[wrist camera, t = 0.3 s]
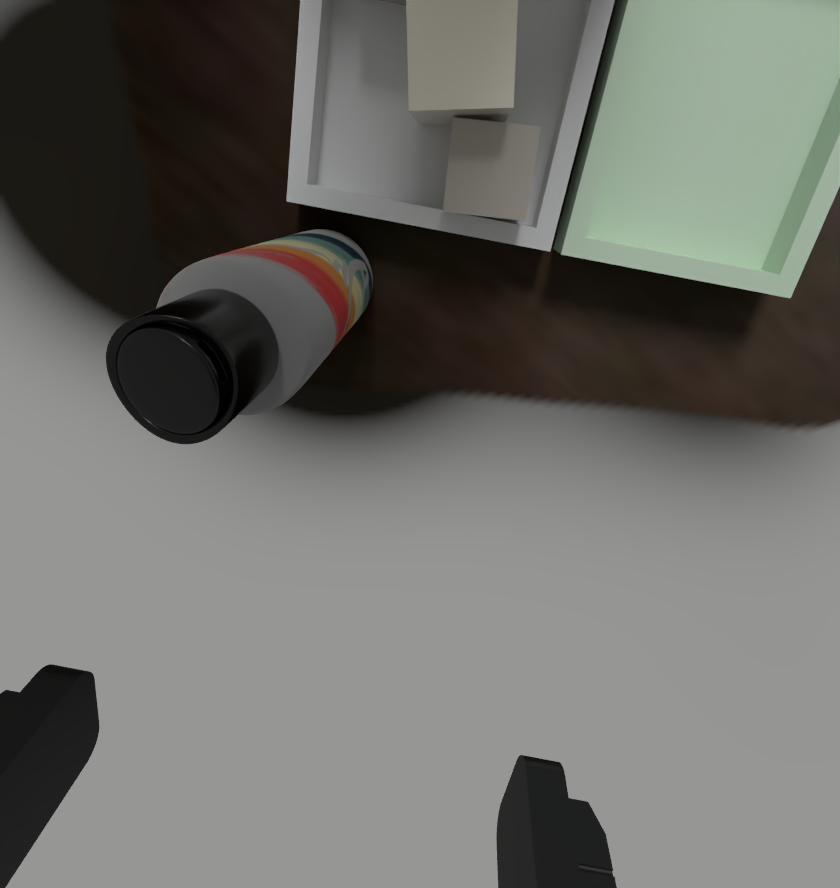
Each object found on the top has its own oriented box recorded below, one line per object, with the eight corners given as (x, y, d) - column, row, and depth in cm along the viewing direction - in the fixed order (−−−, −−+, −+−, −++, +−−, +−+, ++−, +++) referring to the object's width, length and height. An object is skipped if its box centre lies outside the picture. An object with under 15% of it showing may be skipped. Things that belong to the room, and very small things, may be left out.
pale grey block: (454, 125, 30) (453, 117, 26) (532, 133, 30) (540, 126, 26) (445, 208, 31) (442, 211, 28) (518, 216, 31) (525, 220, 28)
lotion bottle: (390, 304, 34) (302, 438, 16) (308, 341, 36) (140, 505, 17) (347, 210, 32) (190, 241, 14) (261, 253, 34) (17, 333, 15)
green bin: (649, -123, 26) (670, -160, 23) (913, -73, 26) (966, -104, 23) (553, 248, 32) (561, 254, 29) (763, 288, 32) (790, 298, 29)
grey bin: (329, -185, 26) (315, -221, 23) (638, -125, 26) (654, -156, 23) (299, 200, 32) (286, 201, 30) (544, 247, 32) (550, 251, 30)
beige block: (417, 21, 28) (405, -18, 23) (509, 18, 28) (519, -24, 22) (419, 124, 30) (408, 110, 24) (505, 122, 29) (513, 107, 24)
